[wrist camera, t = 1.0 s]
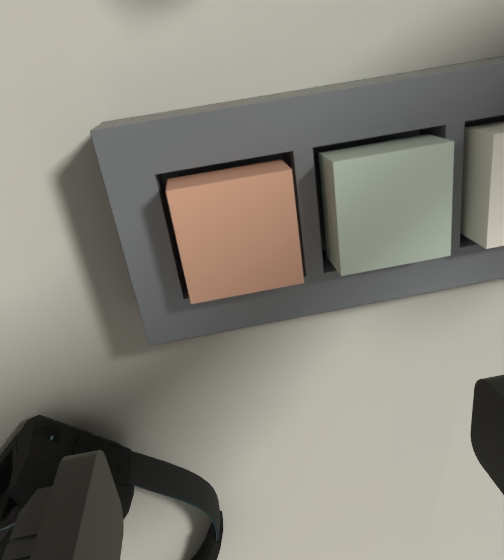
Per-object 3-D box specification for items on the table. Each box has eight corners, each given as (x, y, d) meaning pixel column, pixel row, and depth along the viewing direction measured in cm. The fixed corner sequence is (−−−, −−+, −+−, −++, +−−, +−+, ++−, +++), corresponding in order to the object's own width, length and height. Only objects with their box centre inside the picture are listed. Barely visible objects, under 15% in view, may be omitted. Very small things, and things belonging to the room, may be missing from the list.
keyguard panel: (587, 42, 28) (647, 39, 24) (561, 236, 33) (608, 258, 29) (103, 122, 26) (89, 130, 23) (153, 313, 31) (149, 345, 28)
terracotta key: (281, 159, 25) (291, 169, 23) (293, 263, 28) (304, 283, 25) (167, 178, 25) (165, 191, 22) (190, 282, 27) (191, 304, 25)
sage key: (427, 133, 26) (454, 141, 23) (426, 238, 28) (450, 255, 26) (318, 152, 25) (332, 162, 23) (326, 257, 28) (341, 276, 25)
